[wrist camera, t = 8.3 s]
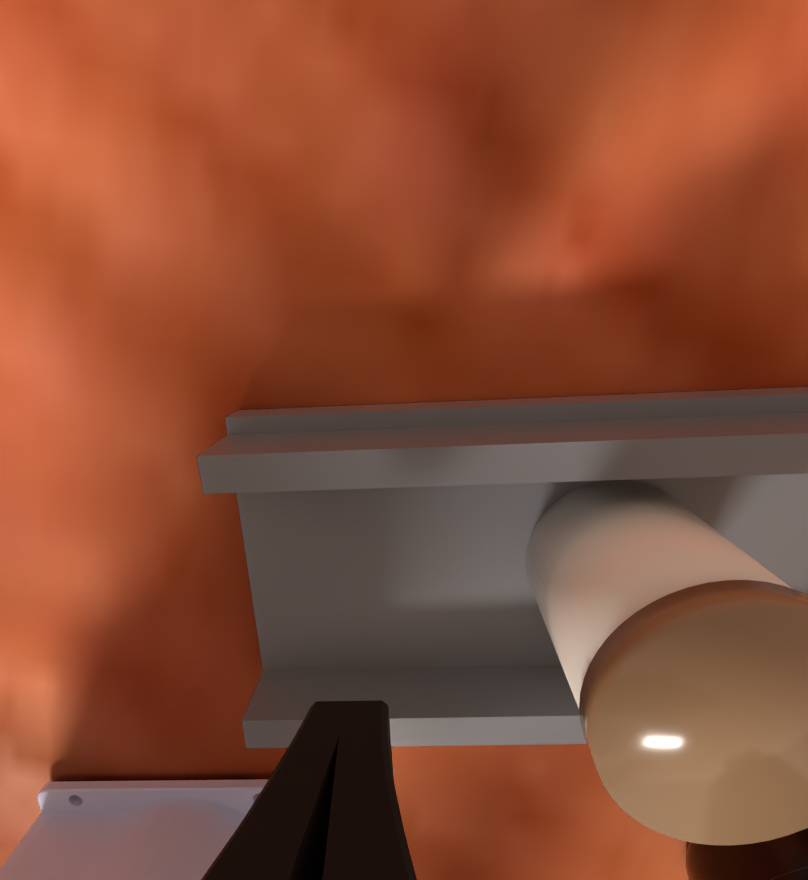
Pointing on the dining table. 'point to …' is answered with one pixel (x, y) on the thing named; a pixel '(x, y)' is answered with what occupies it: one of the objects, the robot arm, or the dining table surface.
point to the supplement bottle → (751, 860)
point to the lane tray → (471, 541)
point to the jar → (677, 663)
